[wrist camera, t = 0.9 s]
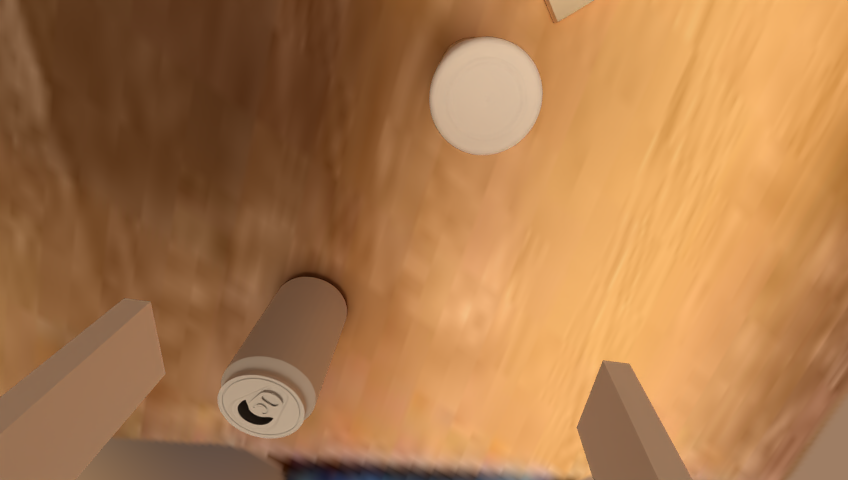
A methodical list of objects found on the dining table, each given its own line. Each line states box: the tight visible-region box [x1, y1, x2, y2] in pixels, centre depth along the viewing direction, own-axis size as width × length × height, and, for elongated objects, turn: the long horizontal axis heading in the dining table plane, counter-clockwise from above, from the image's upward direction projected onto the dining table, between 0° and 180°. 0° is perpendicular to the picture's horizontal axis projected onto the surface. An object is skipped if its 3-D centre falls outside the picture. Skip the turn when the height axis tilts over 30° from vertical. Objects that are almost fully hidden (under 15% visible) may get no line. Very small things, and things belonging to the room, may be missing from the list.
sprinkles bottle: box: [429, 37, 543, 155], centre depth 23 cm, size 5×5×13 cm
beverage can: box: [218, 277, 347, 438], centre depth 32 cm, size 6×6×12 cm
